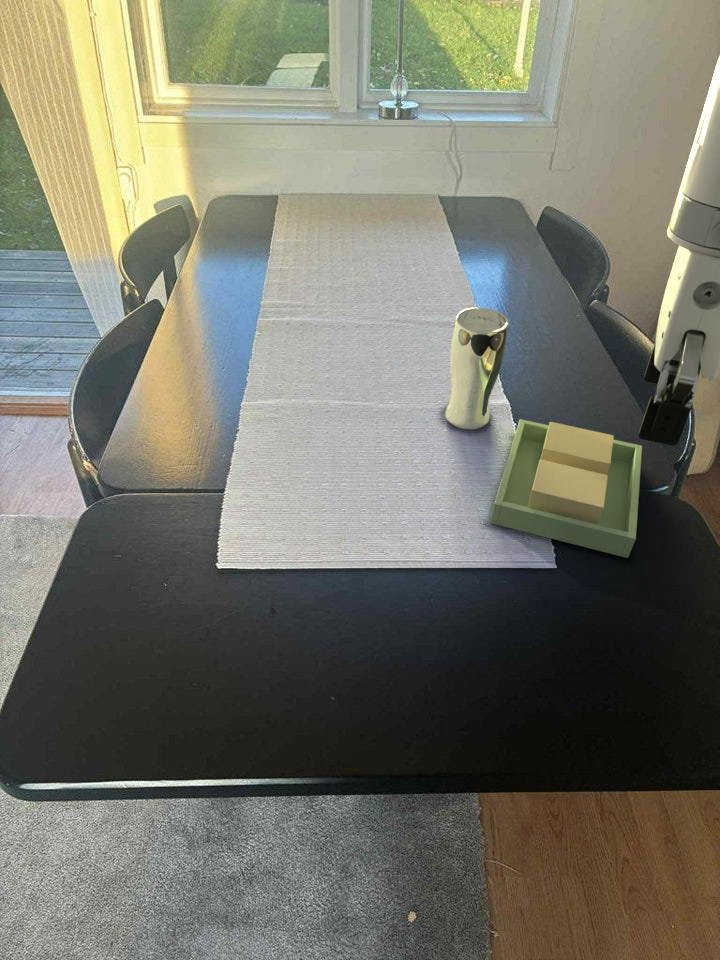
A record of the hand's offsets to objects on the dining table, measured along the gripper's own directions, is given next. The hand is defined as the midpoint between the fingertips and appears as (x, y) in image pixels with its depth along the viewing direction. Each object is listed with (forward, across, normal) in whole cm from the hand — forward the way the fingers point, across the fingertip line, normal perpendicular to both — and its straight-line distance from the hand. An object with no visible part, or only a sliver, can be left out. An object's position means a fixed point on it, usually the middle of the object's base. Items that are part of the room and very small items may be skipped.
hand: (659, 410), depth 63 cm
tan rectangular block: (+20, +8, +6) cm, 22 cm away
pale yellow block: (+20, +16, +6) cm, 26 cm away
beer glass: (+20, +22, +21) cm, 37 cm away
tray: (+21, +11, +6) cm, 24 cm away
